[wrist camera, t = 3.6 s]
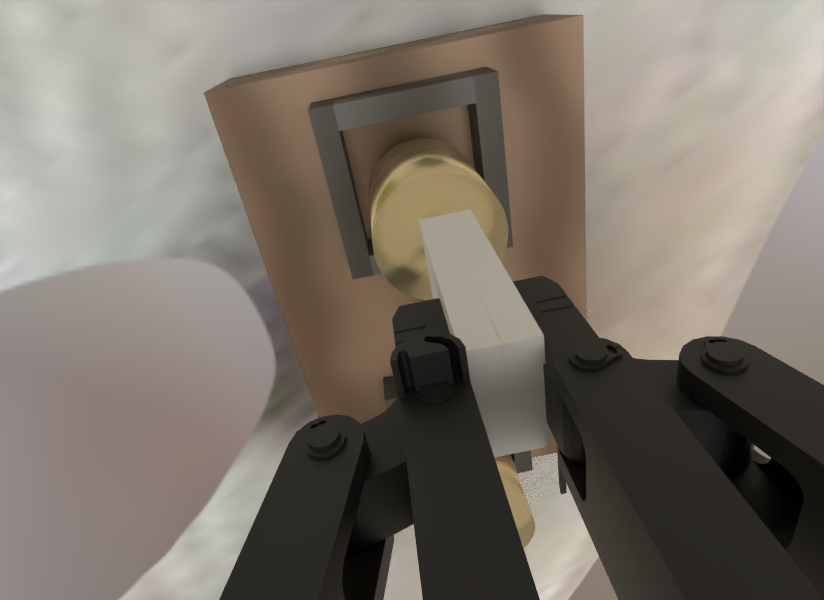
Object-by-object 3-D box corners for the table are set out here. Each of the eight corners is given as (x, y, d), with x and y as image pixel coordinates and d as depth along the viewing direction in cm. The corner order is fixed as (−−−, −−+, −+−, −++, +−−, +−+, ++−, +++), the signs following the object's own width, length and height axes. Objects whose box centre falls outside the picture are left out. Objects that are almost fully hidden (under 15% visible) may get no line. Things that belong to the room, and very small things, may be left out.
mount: (347, 440, 38) (346, 521, 32) (229, 79, 26) (190, 99, 20) (560, 396, 38) (600, 469, 32) (544, 14, 26) (603, 15, 20)
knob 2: (434, 489, 29) (448, 571, 25) (421, 433, 27) (435, 513, 23) (510, 473, 29) (537, 553, 25) (503, 416, 27) (532, 492, 23)
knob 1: (380, 253, 22) (387, 312, 18) (357, 150, 20) (358, 189, 16) (481, 232, 22) (513, 286, 18) (469, 127, 20) (502, 159, 16)
